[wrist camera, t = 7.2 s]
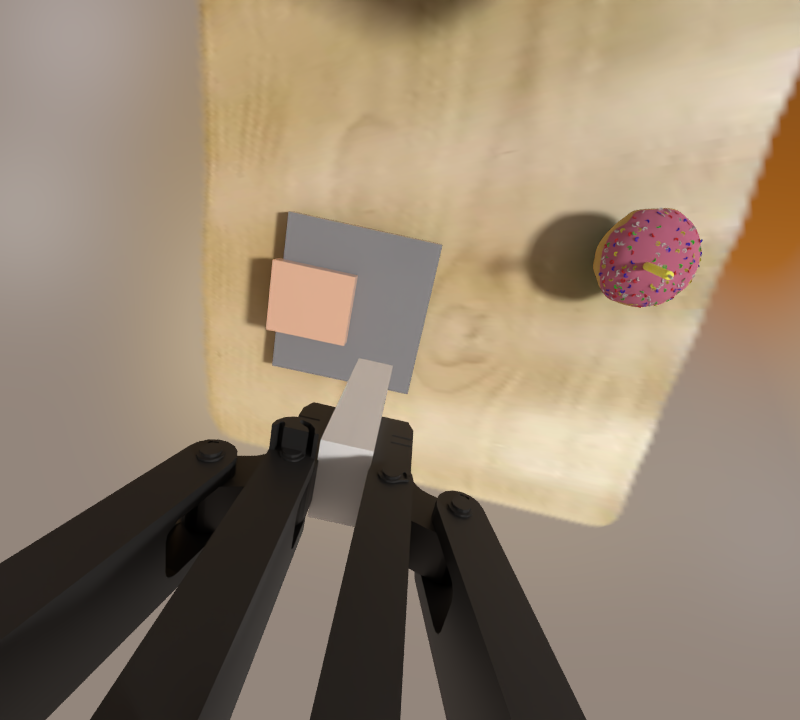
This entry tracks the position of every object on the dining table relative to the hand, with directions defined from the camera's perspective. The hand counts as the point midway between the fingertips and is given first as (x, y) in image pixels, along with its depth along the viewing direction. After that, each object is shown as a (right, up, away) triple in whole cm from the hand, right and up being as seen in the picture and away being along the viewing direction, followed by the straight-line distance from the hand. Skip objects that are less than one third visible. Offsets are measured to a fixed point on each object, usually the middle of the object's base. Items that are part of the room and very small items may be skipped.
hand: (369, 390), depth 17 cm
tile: (-4, +6, +22) cm, 24 cm away
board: (-4, +7, +25) cm, 26 cm away
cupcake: (+23, +12, +22) cm, 34 cm away
